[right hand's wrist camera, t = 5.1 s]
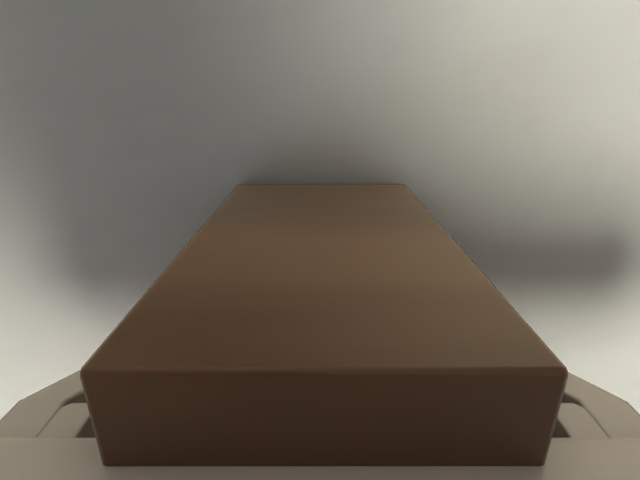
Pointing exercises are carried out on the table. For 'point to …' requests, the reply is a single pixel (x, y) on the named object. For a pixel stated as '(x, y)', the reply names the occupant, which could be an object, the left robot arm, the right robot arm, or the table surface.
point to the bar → (323, 345)
